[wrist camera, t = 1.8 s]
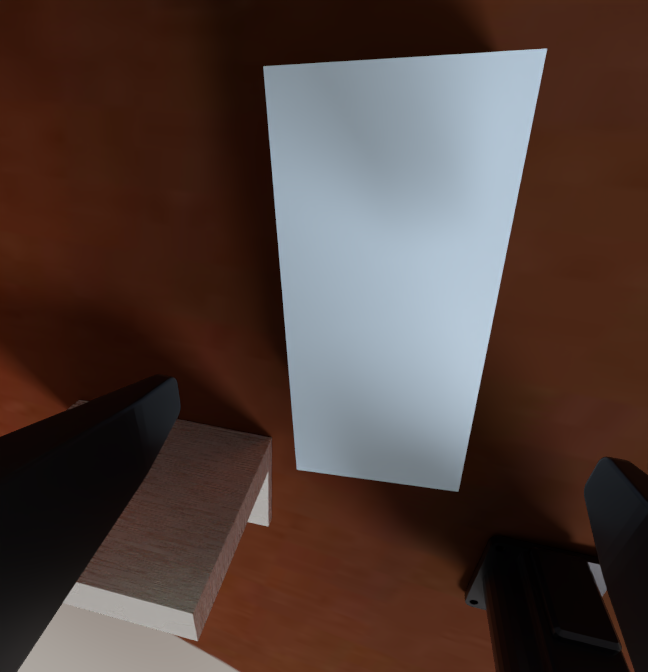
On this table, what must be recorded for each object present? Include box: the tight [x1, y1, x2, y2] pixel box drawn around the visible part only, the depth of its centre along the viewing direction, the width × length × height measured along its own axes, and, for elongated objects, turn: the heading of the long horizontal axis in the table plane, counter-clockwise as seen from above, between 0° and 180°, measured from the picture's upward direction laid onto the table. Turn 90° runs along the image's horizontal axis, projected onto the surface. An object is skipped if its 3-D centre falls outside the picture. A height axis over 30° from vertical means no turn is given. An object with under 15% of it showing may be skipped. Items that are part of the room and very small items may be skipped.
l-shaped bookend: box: [63, 400, 272, 641], centre depth 20 cm, size 7×12×9 cm, turn 86°
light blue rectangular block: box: [263, 49, 547, 492], centre depth 14 cm, size 14×6×4 cm, turn 2°
